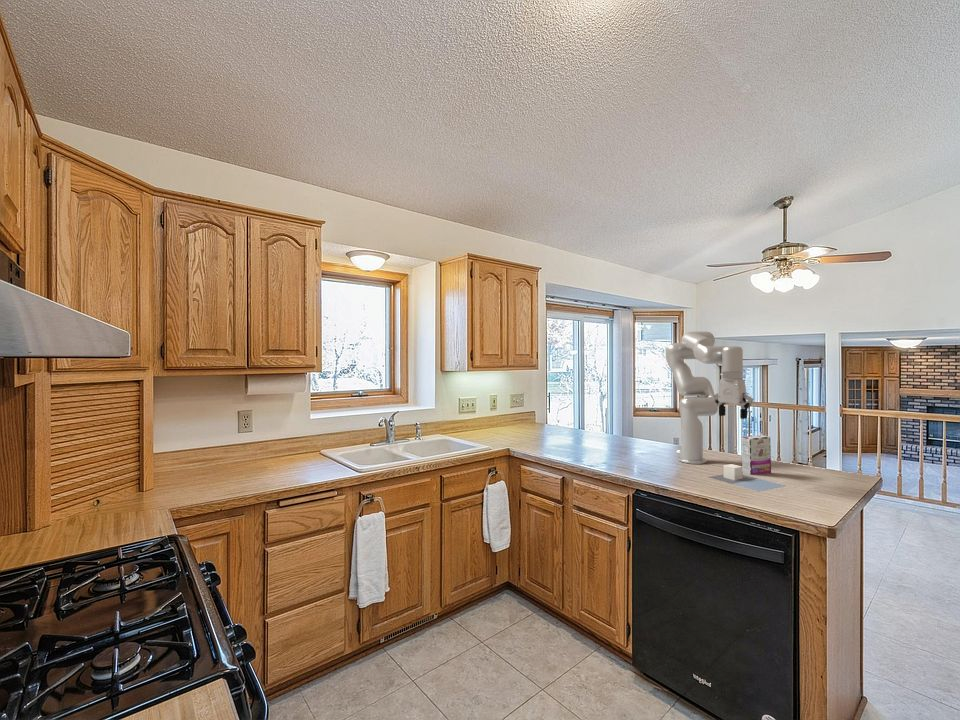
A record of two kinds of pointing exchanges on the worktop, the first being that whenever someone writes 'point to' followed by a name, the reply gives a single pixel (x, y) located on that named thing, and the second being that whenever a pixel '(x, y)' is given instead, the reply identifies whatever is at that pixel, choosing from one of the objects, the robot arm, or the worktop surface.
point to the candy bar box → (756, 454)
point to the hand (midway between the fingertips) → (732, 417)
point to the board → (749, 482)
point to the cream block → (733, 472)
